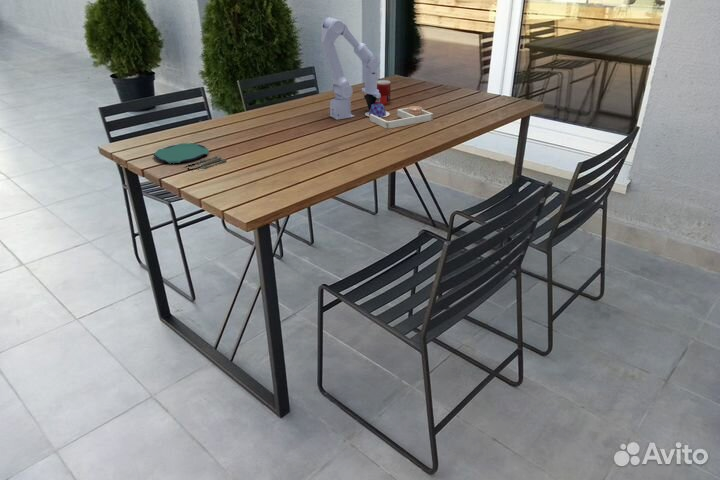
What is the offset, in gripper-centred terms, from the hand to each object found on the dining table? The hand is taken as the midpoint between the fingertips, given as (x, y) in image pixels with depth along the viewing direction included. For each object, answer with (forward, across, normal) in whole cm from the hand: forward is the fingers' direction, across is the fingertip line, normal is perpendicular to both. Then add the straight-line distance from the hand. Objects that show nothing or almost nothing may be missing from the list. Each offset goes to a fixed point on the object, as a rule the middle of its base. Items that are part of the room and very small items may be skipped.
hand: (371, 109), depth 265 cm
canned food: (+1, +10, -13) cm, 17 cm away
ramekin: (+1, -20, -12) cm, 23 cm away
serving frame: (+1, -20, -4) cm, 21 cm away
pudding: (+2, -6, 0) cm, 6 cm away
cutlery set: (+2, -18, +93) cm, 95 cm away
